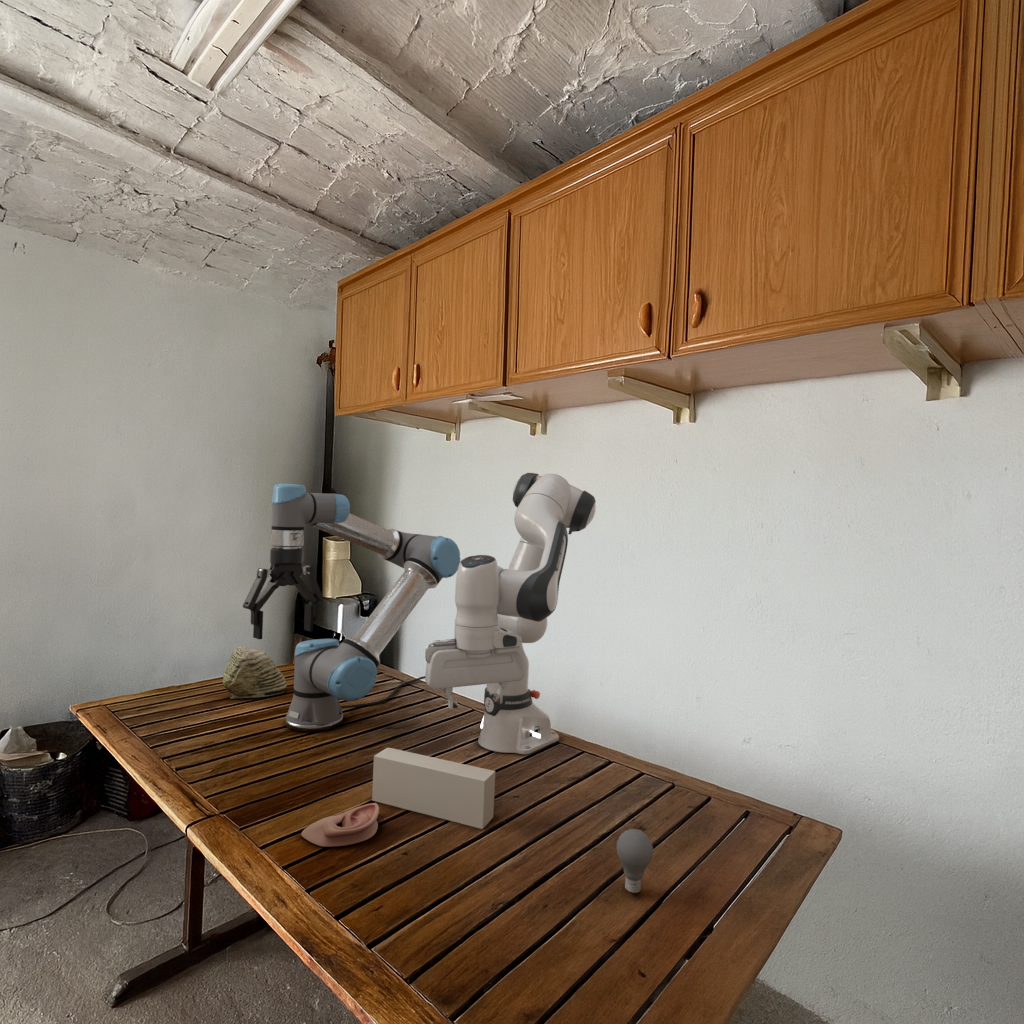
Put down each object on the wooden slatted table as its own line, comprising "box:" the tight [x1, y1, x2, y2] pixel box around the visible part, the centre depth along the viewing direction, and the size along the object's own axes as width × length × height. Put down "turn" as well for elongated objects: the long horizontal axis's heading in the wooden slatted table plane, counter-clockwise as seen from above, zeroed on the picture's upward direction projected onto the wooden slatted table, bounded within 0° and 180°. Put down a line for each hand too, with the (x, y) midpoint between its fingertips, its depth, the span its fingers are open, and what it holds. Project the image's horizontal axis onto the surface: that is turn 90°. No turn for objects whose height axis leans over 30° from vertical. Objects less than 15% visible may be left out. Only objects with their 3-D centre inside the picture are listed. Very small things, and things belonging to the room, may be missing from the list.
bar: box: [371, 747, 496, 830], centre depth 131 cm, size 26×5×10 cm, turn 68°
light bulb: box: [615, 828, 654, 894], centre depth 106 cm, size 6×6×10 cm
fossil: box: [222, 646, 288, 699], centre depth 198 cm, size 9×18×15 cm, turn 132°
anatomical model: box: [300, 802, 380, 848], centre depth 120 cm, size 13×4×12 cm
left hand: (283, 634), depth 154 cm, fingers open, 13 cm apart
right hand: (475, 705), depth 127 cm, fingers open, 8 cm apart
